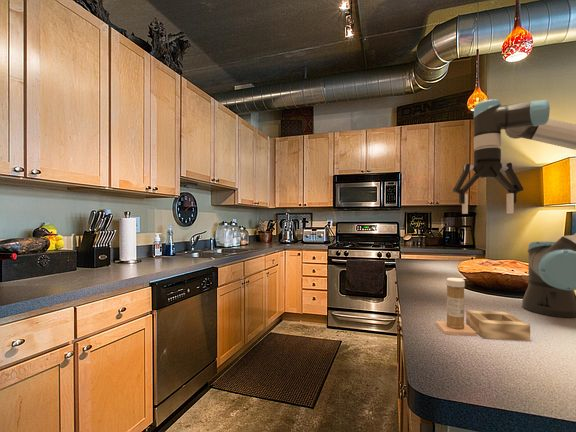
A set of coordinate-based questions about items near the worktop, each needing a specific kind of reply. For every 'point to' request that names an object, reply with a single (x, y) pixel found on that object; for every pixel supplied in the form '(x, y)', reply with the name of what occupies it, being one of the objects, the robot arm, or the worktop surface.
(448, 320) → the sprinkles bottle
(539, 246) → the robot arm
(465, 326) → the terracotta tile
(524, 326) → the socket block
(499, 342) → the worktop surface
